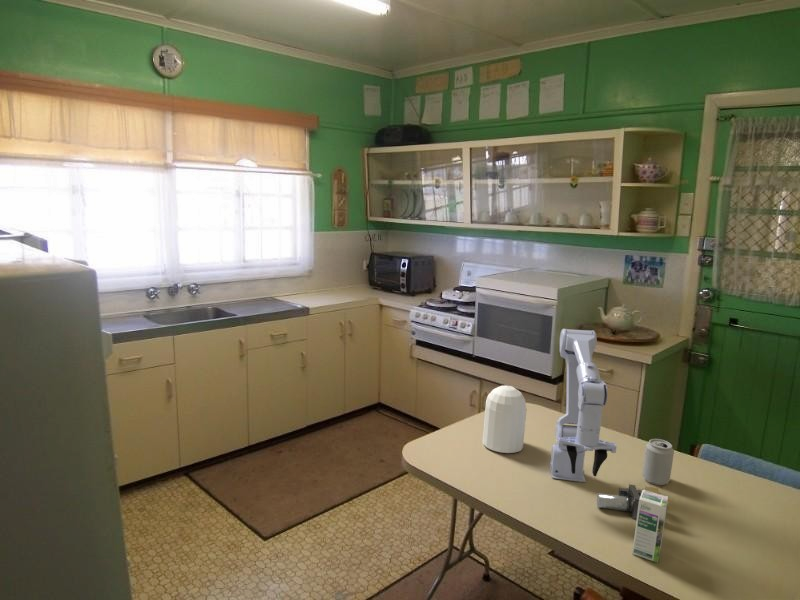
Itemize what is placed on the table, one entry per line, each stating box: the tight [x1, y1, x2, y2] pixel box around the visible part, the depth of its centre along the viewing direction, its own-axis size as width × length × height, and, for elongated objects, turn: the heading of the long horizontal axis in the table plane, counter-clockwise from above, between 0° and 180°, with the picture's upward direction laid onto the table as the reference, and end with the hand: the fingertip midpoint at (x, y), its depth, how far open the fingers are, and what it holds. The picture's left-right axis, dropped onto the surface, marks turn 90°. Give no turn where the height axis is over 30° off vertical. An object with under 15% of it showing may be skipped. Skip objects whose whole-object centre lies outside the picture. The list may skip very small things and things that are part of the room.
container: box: [482, 385, 528, 454], centre depth 179 cm, size 14×13×20 cm
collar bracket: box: [617, 484, 661, 520], centre depth 145 cm, size 10×10×6 cm
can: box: [641, 438, 675, 486], centre depth 160 cm, size 8×8×12 cm
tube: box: [596, 492, 634, 513], centre depth 145 cm, size 12×4×4 cm, turn 79°
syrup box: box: [631, 489, 669, 563], centre depth 127 cm, size 6×6×14 cm
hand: (583, 473), depth 146 cm, fingers open, 5 cm apart
